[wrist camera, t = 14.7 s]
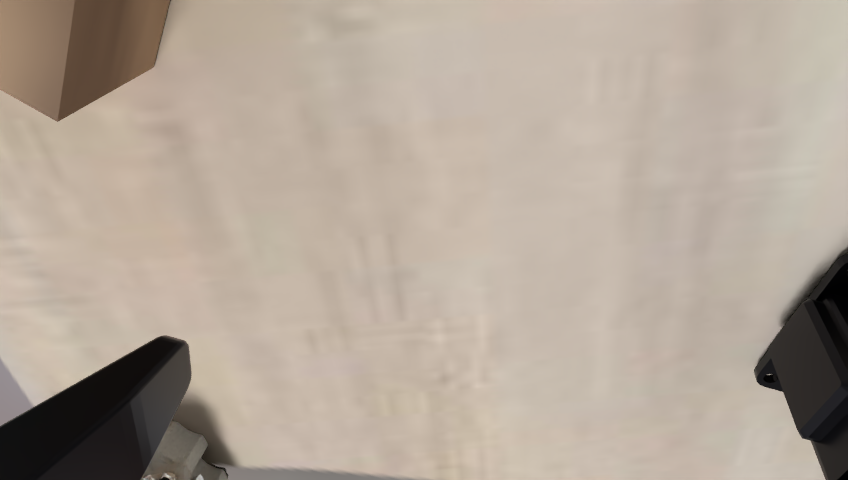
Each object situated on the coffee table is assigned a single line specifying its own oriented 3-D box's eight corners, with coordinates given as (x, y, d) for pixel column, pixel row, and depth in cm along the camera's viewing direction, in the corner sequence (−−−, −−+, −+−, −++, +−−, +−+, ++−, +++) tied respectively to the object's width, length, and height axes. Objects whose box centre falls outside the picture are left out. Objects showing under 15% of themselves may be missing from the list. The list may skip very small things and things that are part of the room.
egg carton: (203, 417, 35) (165, 480, 31) (242, 493, 39) (212, 556, 35) (53, 405, 37) (3, 462, 34) (105, 478, 41) (65, 534, 38)
